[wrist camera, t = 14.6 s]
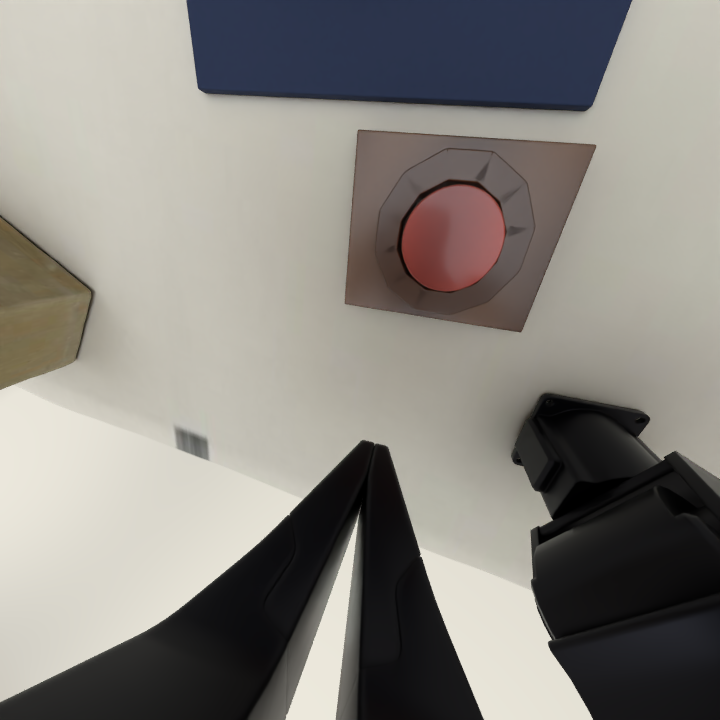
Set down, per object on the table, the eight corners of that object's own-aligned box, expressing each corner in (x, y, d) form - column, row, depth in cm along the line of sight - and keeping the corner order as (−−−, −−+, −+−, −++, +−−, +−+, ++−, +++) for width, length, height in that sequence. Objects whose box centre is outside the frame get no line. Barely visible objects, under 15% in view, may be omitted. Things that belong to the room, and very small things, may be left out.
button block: (581, 152, 13) (624, 131, 10) (514, 325, 17) (532, 344, 14) (363, 137, 15) (348, 116, 12) (349, 299, 19) (336, 311, 16)
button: (509, 194, 12) (521, 189, 11) (480, 290, 14) (486, 298, 13) (413, 185, 13) (411, 179, 11) (397, 278, 15) (394, 284, 13)
